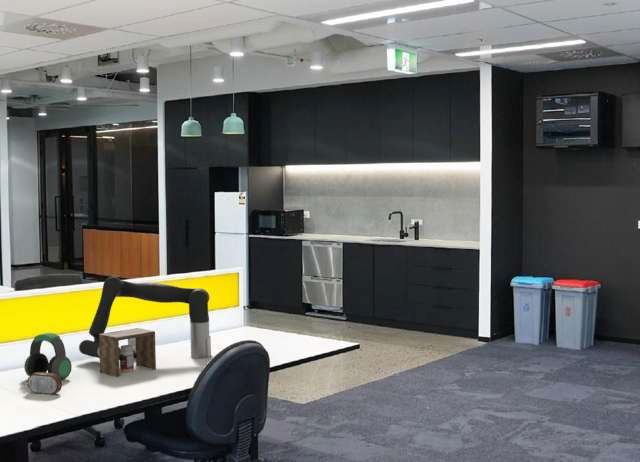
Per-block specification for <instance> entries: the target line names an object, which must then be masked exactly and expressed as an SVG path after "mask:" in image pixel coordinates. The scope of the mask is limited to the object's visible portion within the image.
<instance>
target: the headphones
mask: <svg viewBox="0 0 640 462" xmlns="http://www.w3.org/2000/svg"><path fill="white" fill-rule="evenodd" d="M60 337H61V336H59V334H56V333H54V332H46V333H45V332H44V333H41V334H37V335H36V336H34V338H33V340H32V342H31V343H30V348H29V349H30V350H29V356H28V357H26V360H25V361H24V367H23V368H24V371H25V374H26V375H27V376H28V377H29V376H30V375H32V374H34V373H36V372H43V373H54V374H56V375H58V376H59V377H60V379H61V381H64V380H66V379H67V378H68V377H69V376H70V374H71V371H72V362H71V359H70V358H69V357H68V356H67V355H66V349H65V348H66V347H65V344H64V341H63V339H61V338H60ZM44 341H45V342H47V343H49V344H51V345H52V347H53V350H54V354H55V355H54V356H52V357H51V358H50V360H49V359H48V357H47V355H45V354H44V353H41V346H42V343H43V342H44Z"/></svg>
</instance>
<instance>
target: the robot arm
mask: <svg viewBox="0 0 640 462" xmlns="http://www.w3.org/2000/svg"><path fill="white" fill-rule="evenodd" d="M116 298H134V299H138V300H143V301H148V302H154V303H160V304H161V303H163V304H164V303H166V304H168V303H170V304H171V303H181V304H182V303H183V304H188V310H189V311H188V313H189V315H188V316H189V324H190V326H189V329H190V331H189V333H190V357H191V358H193V359H204V358H209V357H210V356H212V342H211V341H212V339H211V335H210V317H209V301H210V294H209V292H208V291H207V290H206V289H203V288H198V287H197V288H191V287H187V288H186V287H179V286H176V285H171V284H165V283H158V282H132V281H131V282H130V281H126V280H123V279H120V278H118V277H117V276H109V277H108V278H106V279H105V280H104V282H103V285H102V291H101V296H100V299H99V303H98V306H97V308H96V312H95V315H94V317H93V320H92V321H91V324H90V328H89V331H88V334H89V335H90V336H92V337H93V339H94V340H89V339H84V340H82V341H81V342H80V344H79V346H78V349H79V352H80V353H81V354H82V355H85V356H89V357H90V358H91V357H92V358H98V359H100V354H99V334H103V333H106V332H105V331H106V329H107V327H108V325H109V319H110V315H111V311H112V308H113V307H112V306H113V304H114V301H115V299H116ZM131 351H133V354H134V359H136V358H137V354H136V353H135V351H134V350H131ZM120 352H121V347H119V361H120V360H121V361H123V360H124V356H123V355H120Z"/></svg>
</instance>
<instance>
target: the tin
mask: <svg viewBox="0 0 640 462" xmlns="http://www.w3.org/2000/svg"><path fill="white" fill-rule="evenodd" d="M27 385H28V388H29V391H31V392H32V393H34V394H40V395H49V396H50V395H55V394H58V393H59V392H60V391H61V390H62V387H63V383H62V380H61V379H60V377H59V376H58V375H56V374H54V373H48V372H46V373H43V372H36V373H34V374H32V375H30V376H28V379H27Z"/></svg>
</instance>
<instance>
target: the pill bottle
mask: <svg viewBox="0 0 640 462" xmlns="http://www.w3.org/2000/svg"><path fill="white" fill-rule="evenodd" d="M120 349H121V352H120V355H123V356H124V360H123V361H121V360H119V371H120V372H122V373H124V372H125V373H128V372H133V371H134V370H135V363H134V362H135V361H134V360H135V358H134V354H133V351H131V350H132V345H128V344H125V345H121V346H120Z"/></svg>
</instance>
